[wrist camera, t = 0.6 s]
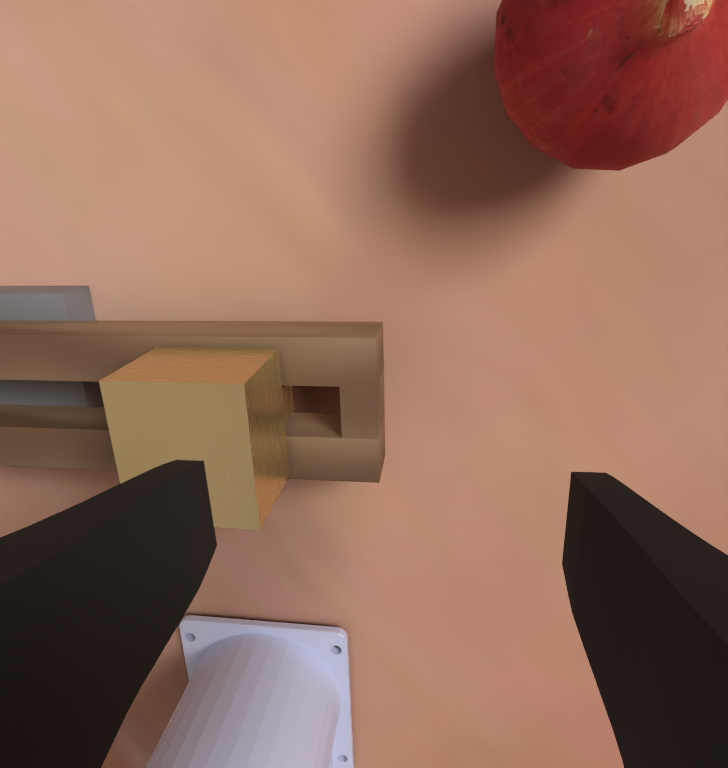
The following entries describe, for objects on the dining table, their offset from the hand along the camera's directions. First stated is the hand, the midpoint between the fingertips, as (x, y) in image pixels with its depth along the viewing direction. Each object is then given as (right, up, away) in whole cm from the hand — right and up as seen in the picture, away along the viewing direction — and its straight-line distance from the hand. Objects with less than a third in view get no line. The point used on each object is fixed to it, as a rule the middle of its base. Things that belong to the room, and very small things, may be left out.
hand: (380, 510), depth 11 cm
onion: (+6, +12, +6) cm, 15 cm away
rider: (-5, +2, +9) cm, 10 cm away
